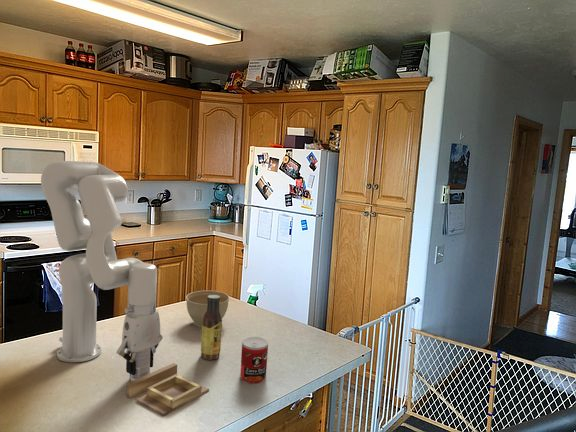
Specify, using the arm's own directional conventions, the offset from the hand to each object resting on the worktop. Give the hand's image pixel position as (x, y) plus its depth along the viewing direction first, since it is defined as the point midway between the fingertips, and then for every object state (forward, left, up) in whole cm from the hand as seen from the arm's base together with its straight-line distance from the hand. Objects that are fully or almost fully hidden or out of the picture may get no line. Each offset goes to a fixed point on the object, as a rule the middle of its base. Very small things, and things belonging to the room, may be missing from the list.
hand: (139, 368), depth 128 cm
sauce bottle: (+5, +24, -3) cm, 25 cm away
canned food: (+24, +22, -3) cm, 32 cm away
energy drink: (0, 0, -3) cm, 3 cm away
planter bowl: (-15, +43, -3) cm, 46 cm away
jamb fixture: (+12, 0, -3) cm, 12 cm away
